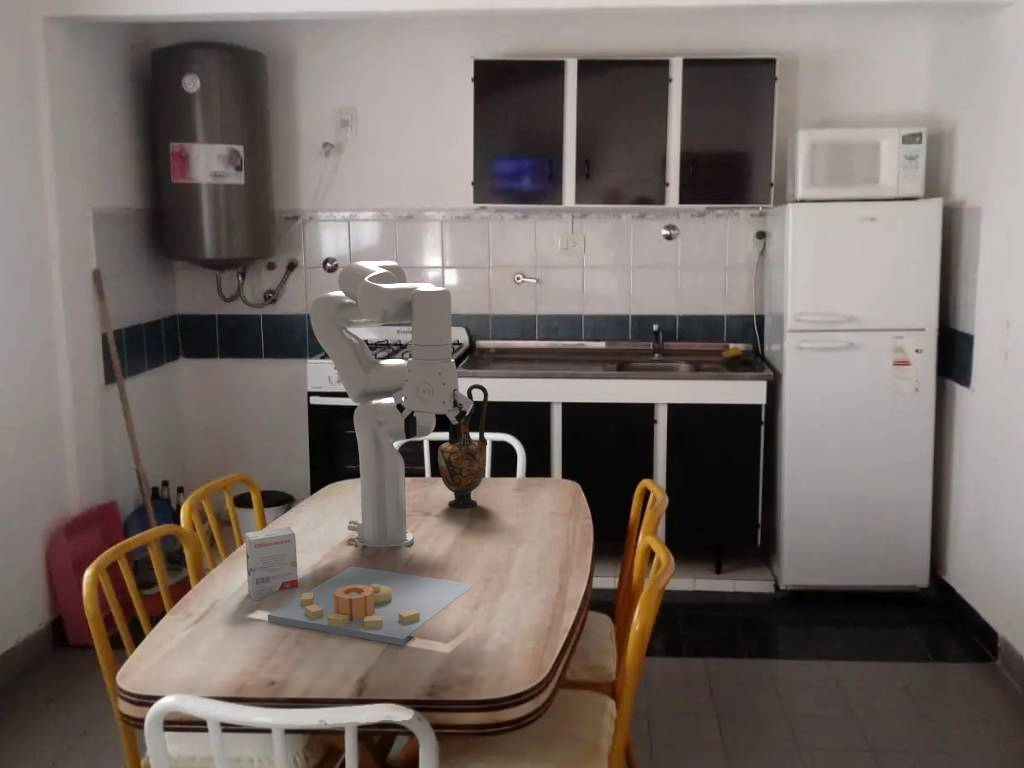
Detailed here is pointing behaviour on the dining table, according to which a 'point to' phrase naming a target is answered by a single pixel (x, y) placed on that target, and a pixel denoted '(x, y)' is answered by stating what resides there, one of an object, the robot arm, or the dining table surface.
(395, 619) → the carrier board
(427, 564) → the dining table surface
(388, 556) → the dining table surface
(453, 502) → the vase
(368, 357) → the robot arm
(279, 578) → the ink box
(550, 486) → the dining table surface
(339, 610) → the planet gear
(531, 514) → the dining table surface
